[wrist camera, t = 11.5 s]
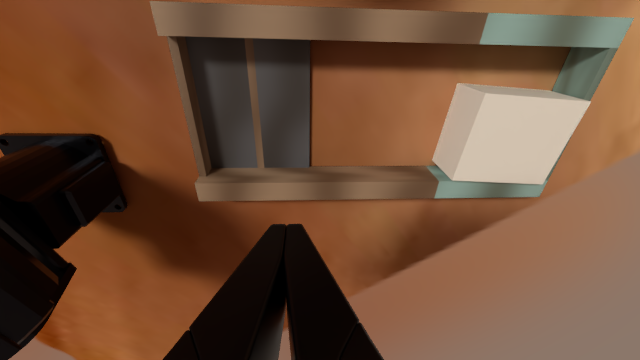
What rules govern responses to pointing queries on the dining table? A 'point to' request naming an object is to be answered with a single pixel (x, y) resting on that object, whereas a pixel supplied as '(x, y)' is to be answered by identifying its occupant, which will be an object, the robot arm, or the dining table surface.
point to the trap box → (294, 91)
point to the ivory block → (505, 133)
